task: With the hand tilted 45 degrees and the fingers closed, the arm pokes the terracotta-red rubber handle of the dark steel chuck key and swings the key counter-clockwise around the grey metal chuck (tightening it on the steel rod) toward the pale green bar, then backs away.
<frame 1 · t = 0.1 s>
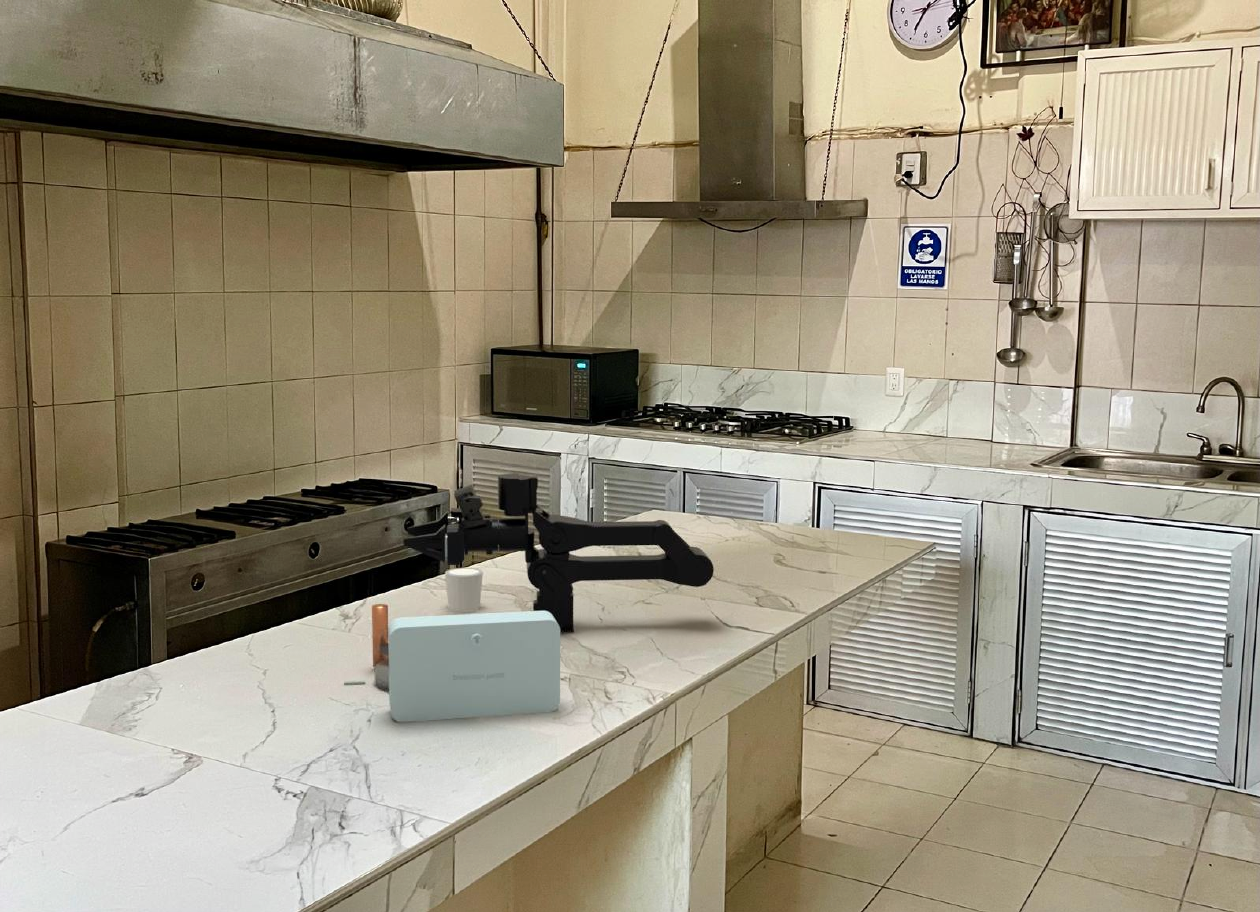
hand: (405, 536, 205), 17 cm above the counter, tool horizontal, fingers open, 9 cm apart
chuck: (409, 681, 181), on the counter
pale green bar: (354, 683, 180), on the counter
chuck key: (388, 639, 184), point 5 cm above the counter, hinge at 0.0°
white cup: (464, 609, 222), on the counter
pale blue box: (474, 712, 169), on the counter
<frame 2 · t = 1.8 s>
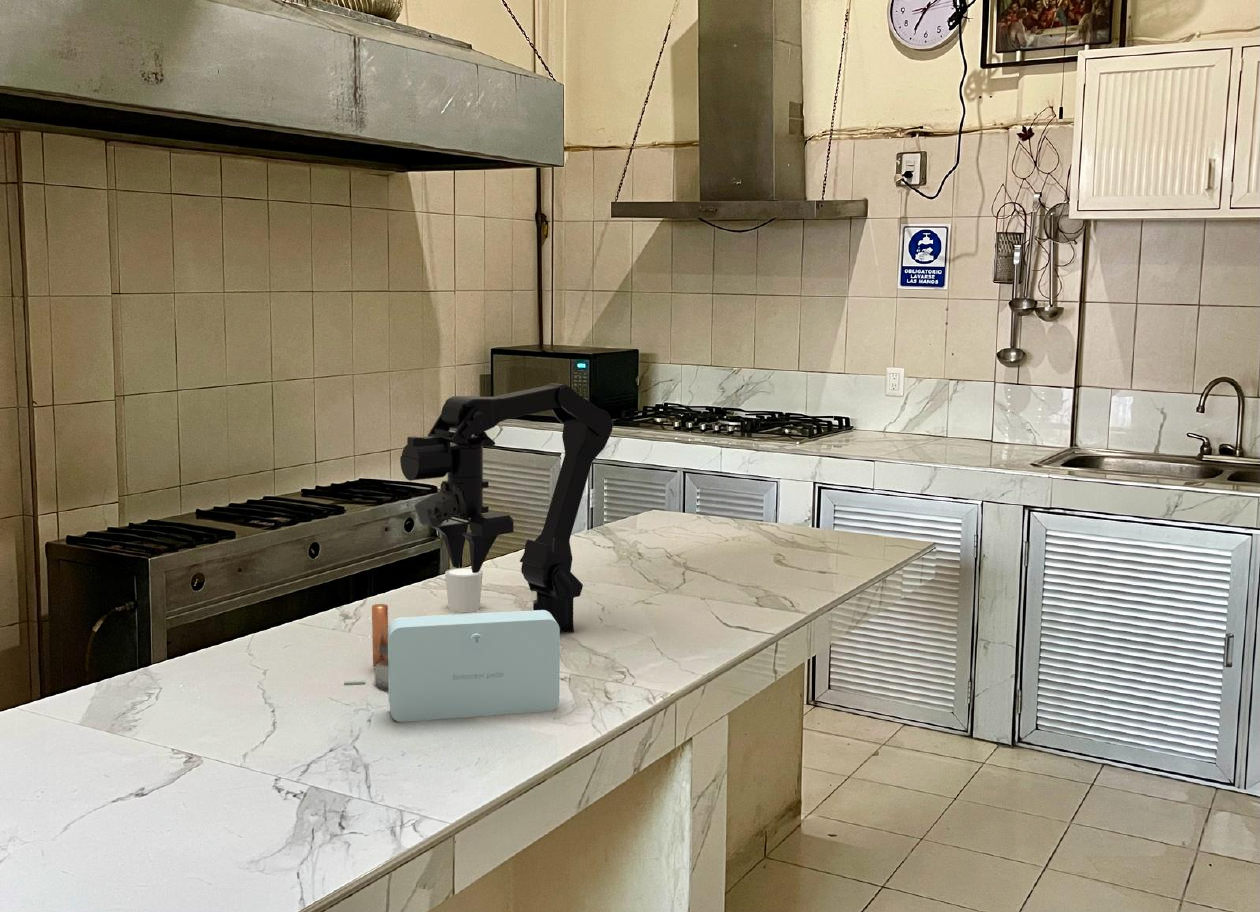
hand: (465, 569, 197), 13 cm above the counter, tool pointing down, fingers open, 5 cm apart
nothing on the counter moved.
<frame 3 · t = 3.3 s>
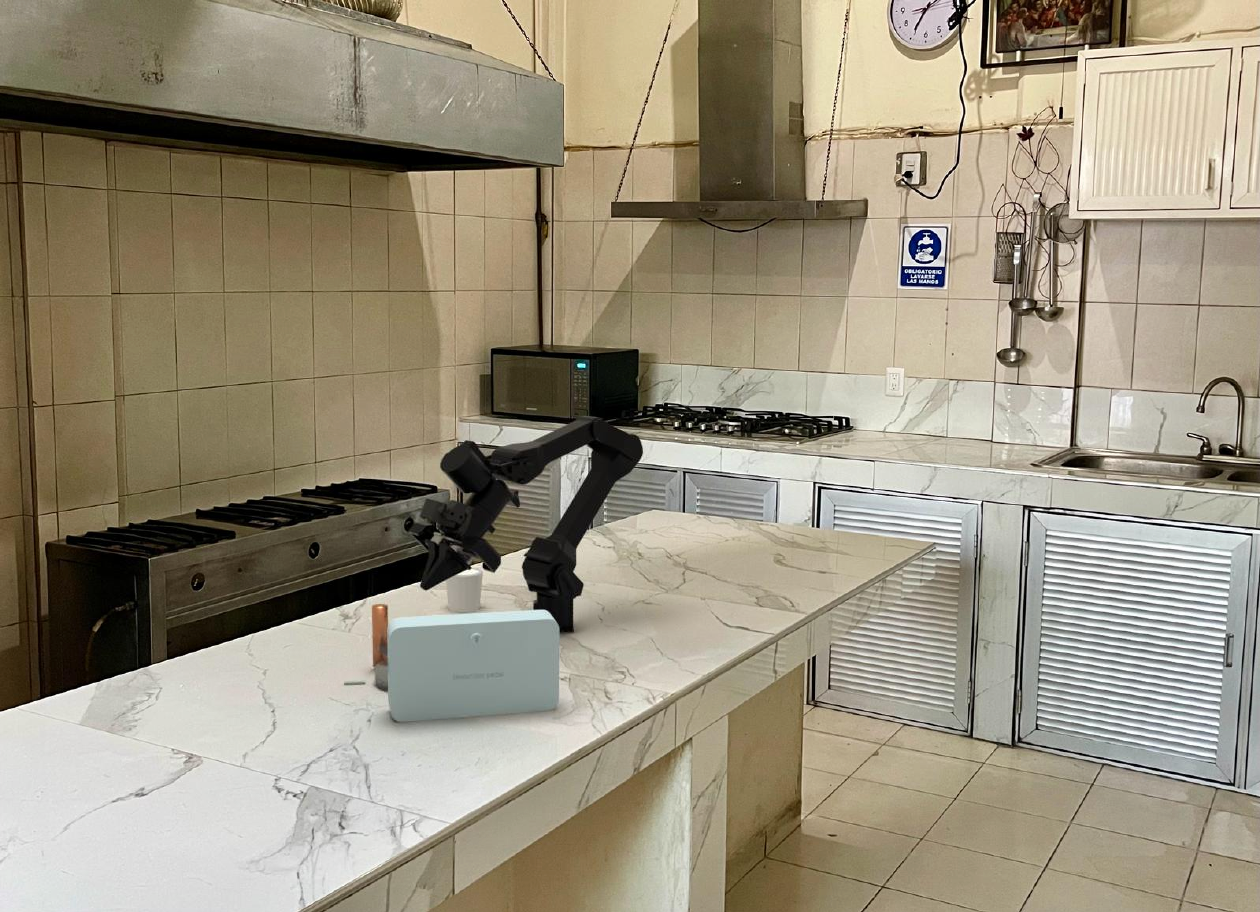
hand: (422, 588, 189), 12 cm above the counter, tool tilted 45°, fingers closed
nothing on the counter moved.
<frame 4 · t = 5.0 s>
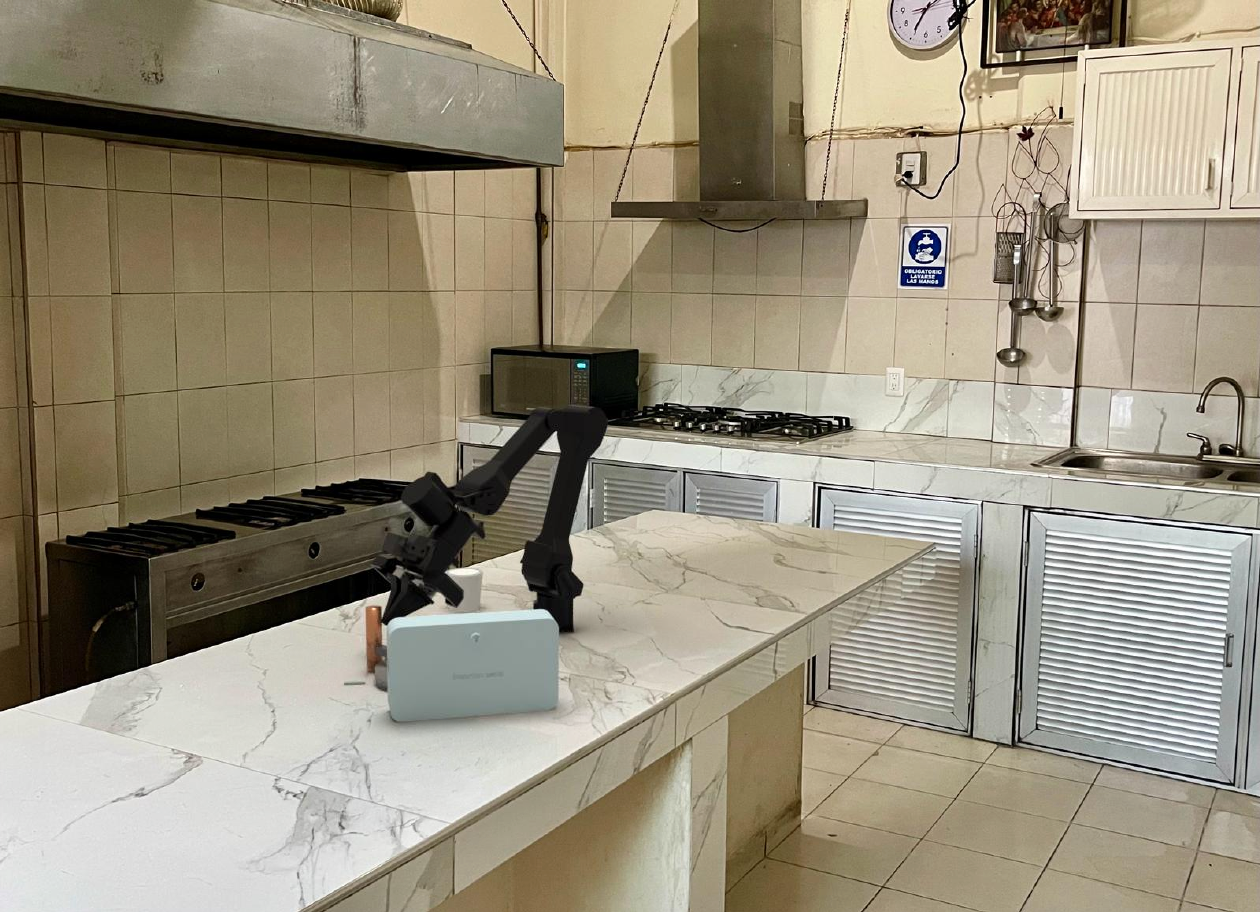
hand: (384, 624, 185), 7 cm above the counter, tool tilted 45°, fingers closed
chuck key: (383, 640, 184), point 5 cm above the counter, hinge at 8.4°, touching gripper
everything else where it was.
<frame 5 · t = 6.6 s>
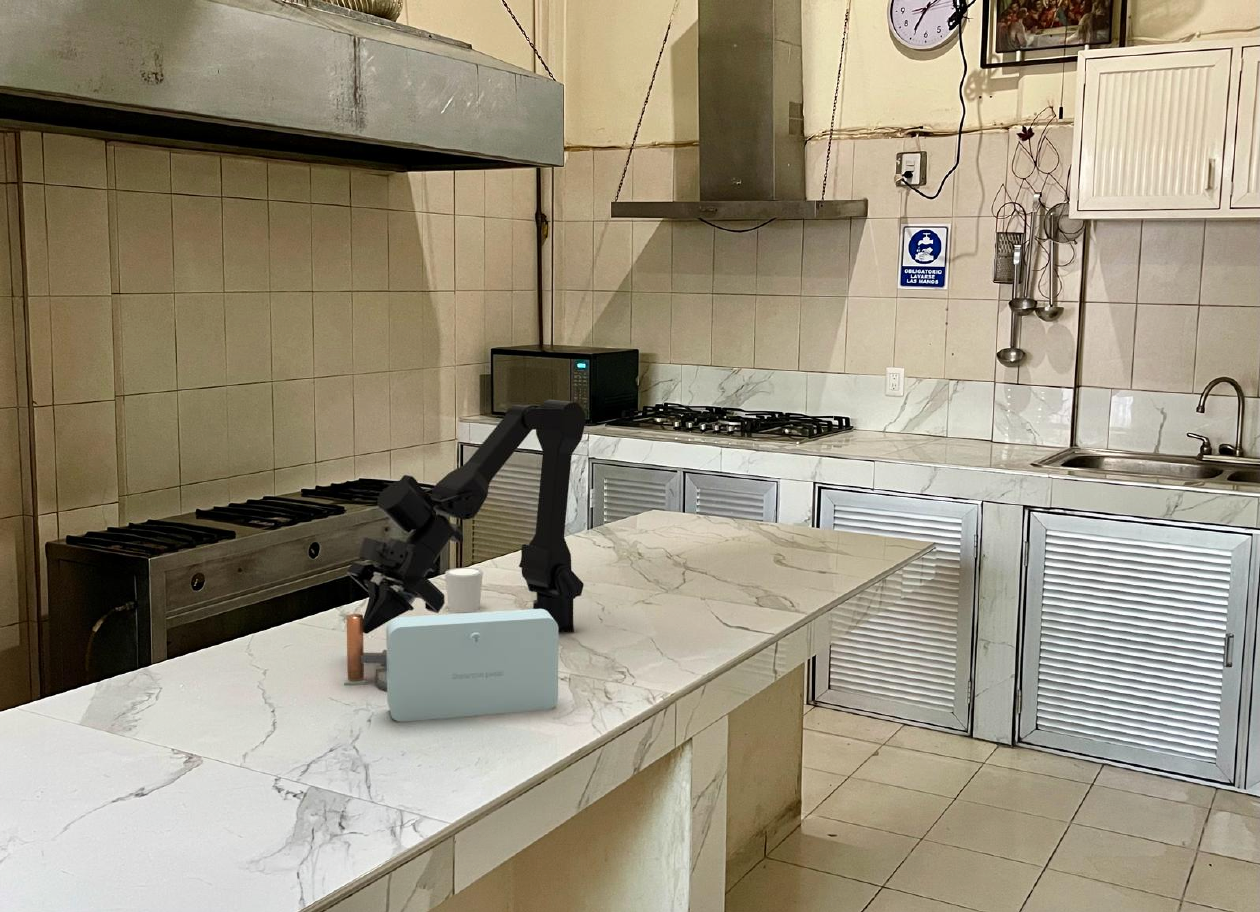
hand: (363, 632, 181), 7 cm above the counter, tool tilted 45°, fingers closed, pressing on chuck key
chuck key: (370, 647, 180), point 5 cm above the counter, hinge at 46.9°, touching gripper
everything else where it was.
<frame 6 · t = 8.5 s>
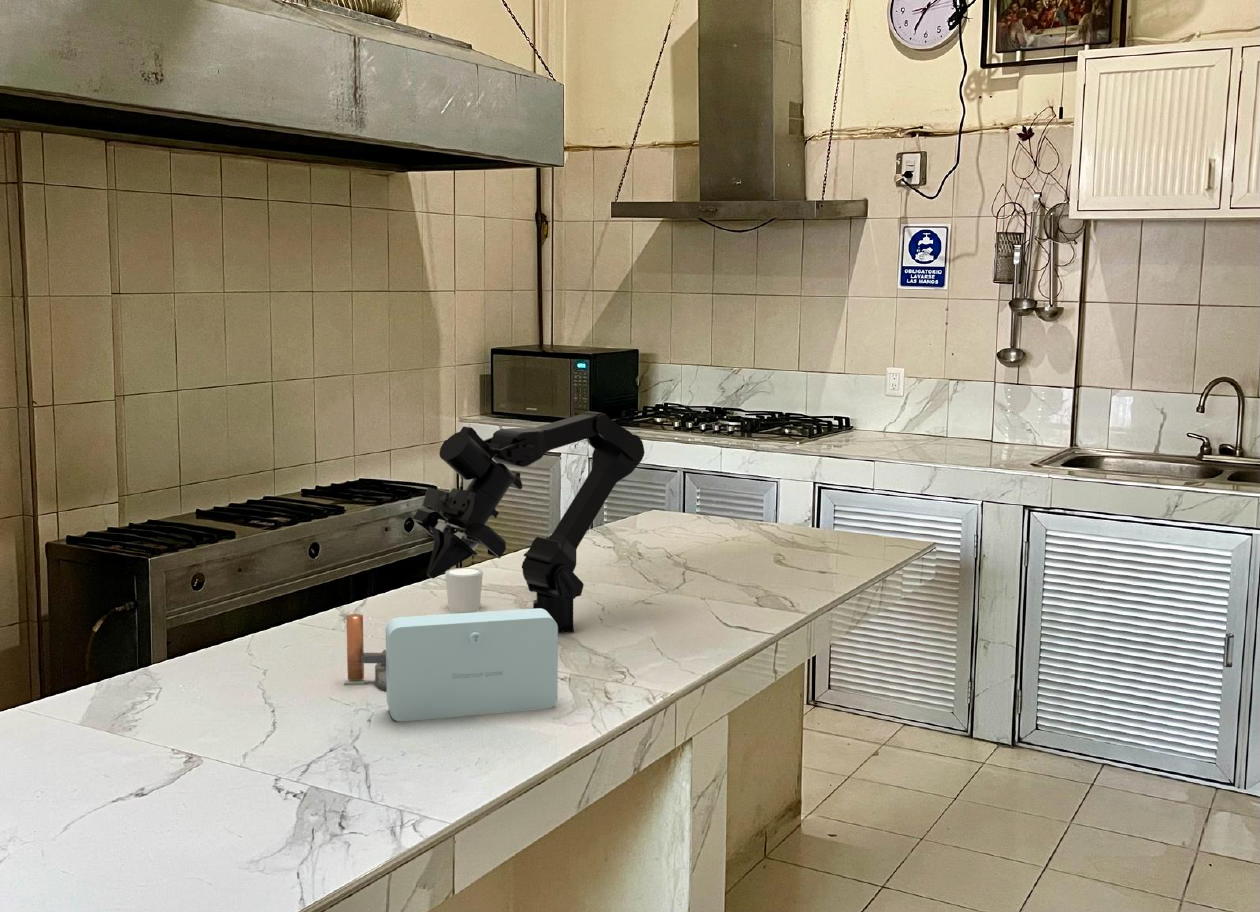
hand: (429, 576, 190), 13 cm above the counter, tool tilted 40°, fingers closed
chuck key: (370, 647, 180), point 5 cm above the counter, hinge at 46.9°
everything else where it was.
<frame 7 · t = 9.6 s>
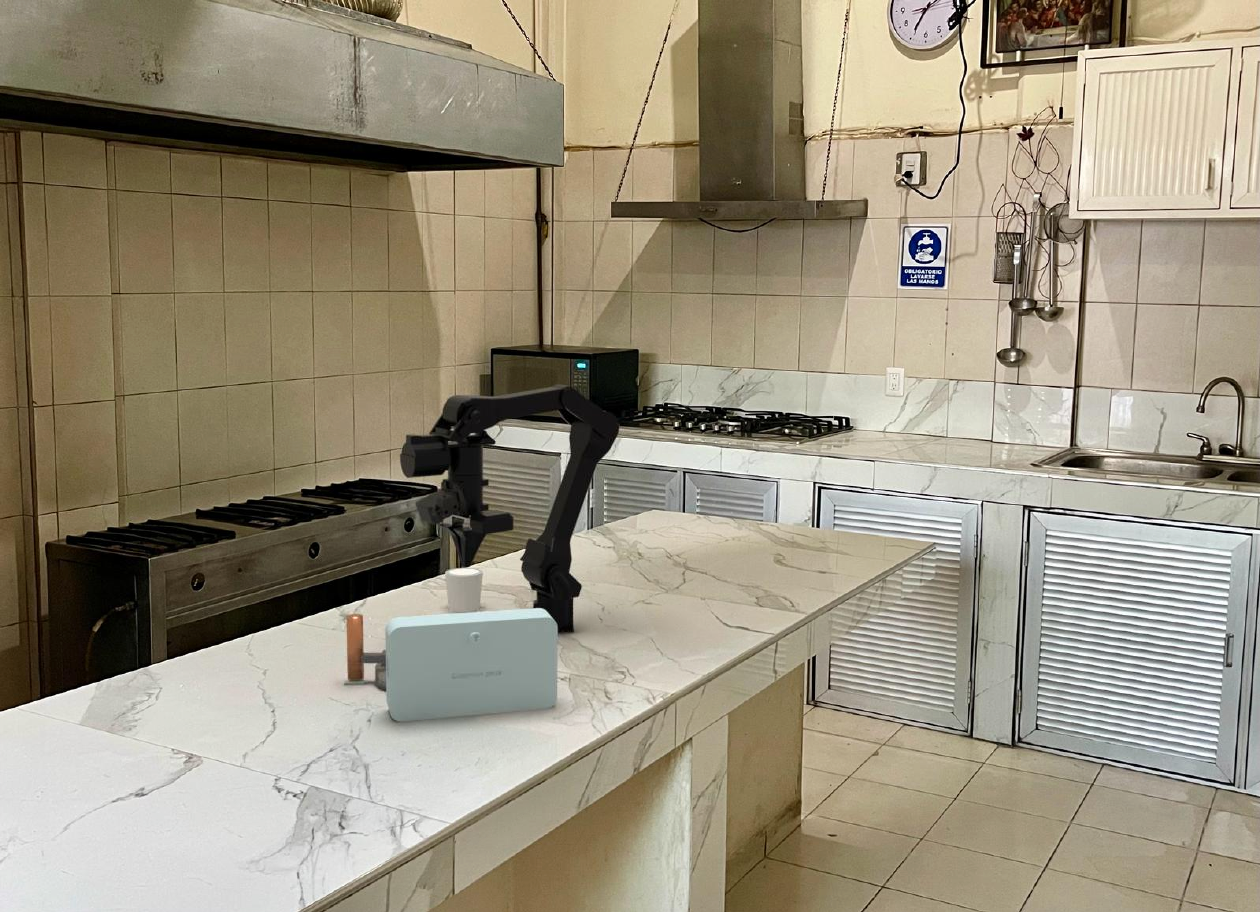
hand: (465, 566, 199), 13 cm above the counter, tool pointing down, fingers closed
nothing on the counter moved.
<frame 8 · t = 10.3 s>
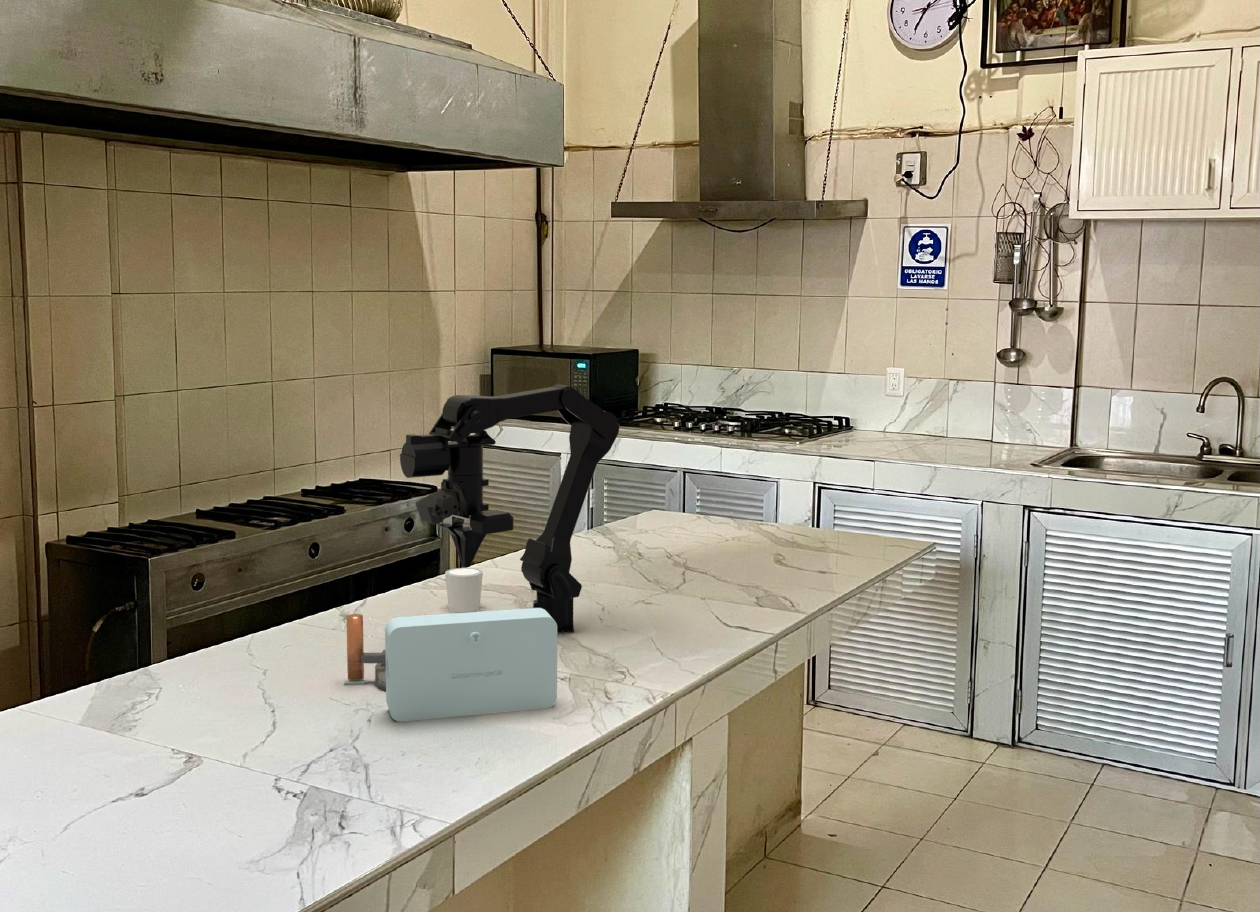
hand: (465, 566, 199), 13 cm above the counter, tool pointing down, fingers closed
nothing on the counter moved.
at the end: chuck key at +47° (first picture: +0°) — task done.
